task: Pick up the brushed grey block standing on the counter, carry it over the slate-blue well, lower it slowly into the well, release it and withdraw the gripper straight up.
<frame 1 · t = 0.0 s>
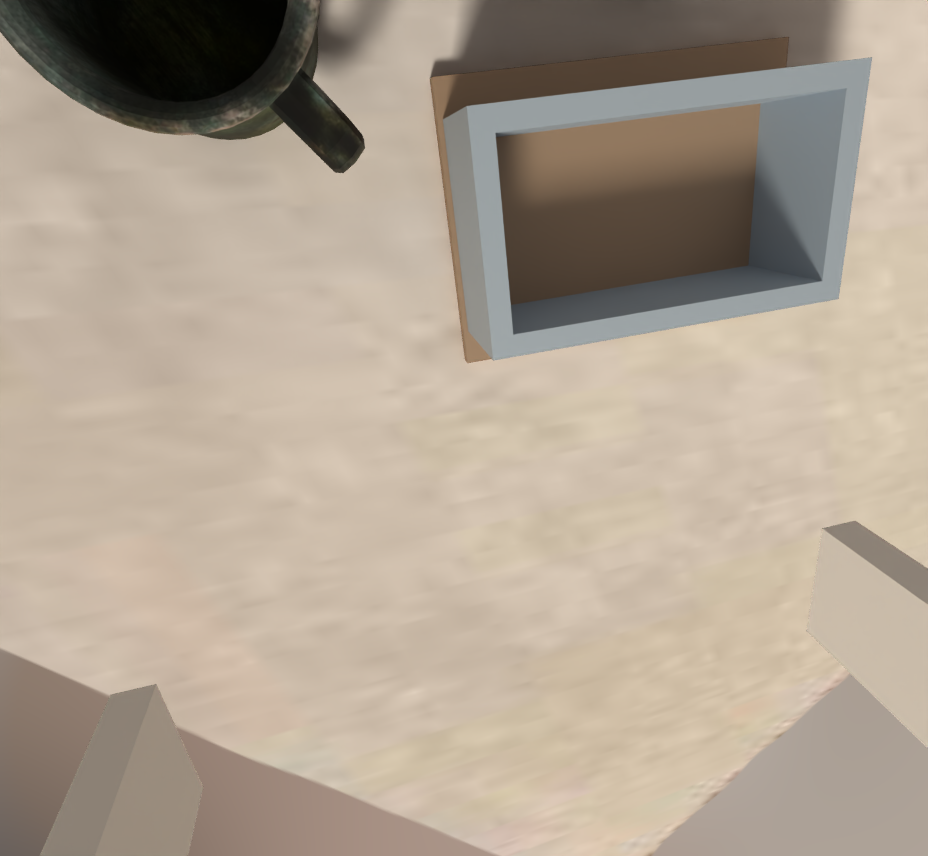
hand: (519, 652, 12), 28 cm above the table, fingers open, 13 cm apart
mug: (241, 55, 30), on the table
well: (614, 208, 37), on the table
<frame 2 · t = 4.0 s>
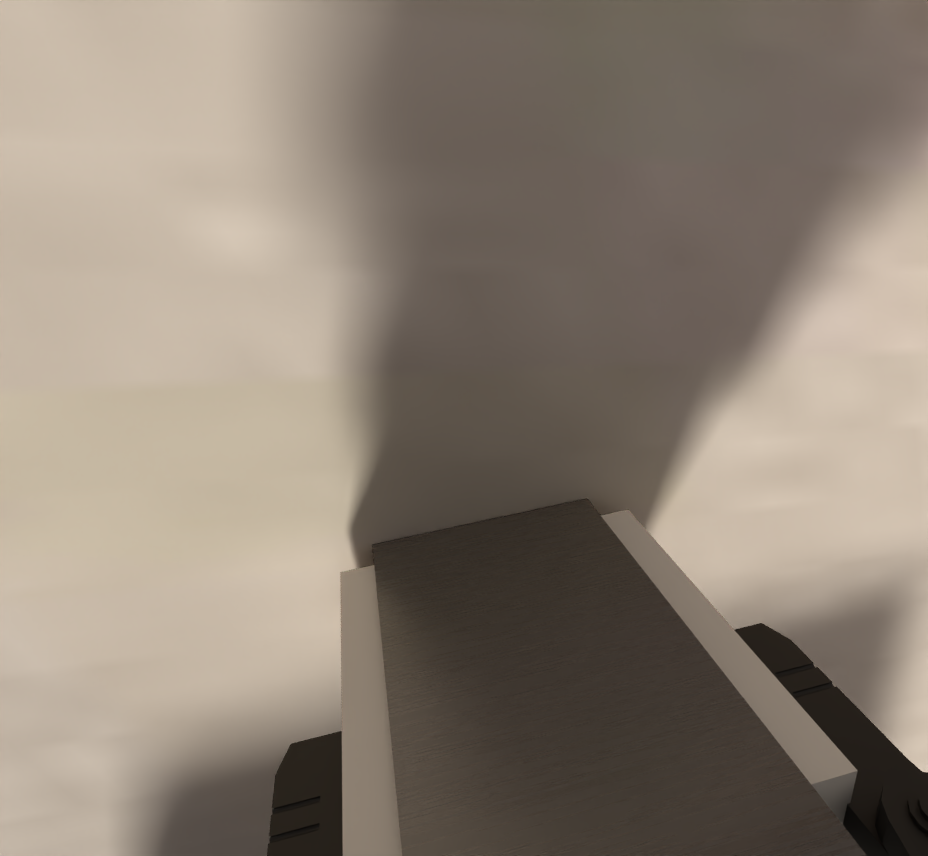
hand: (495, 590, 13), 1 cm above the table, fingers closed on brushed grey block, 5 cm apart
brushed grey block: (489, 574, 14), on the table, touching gripper
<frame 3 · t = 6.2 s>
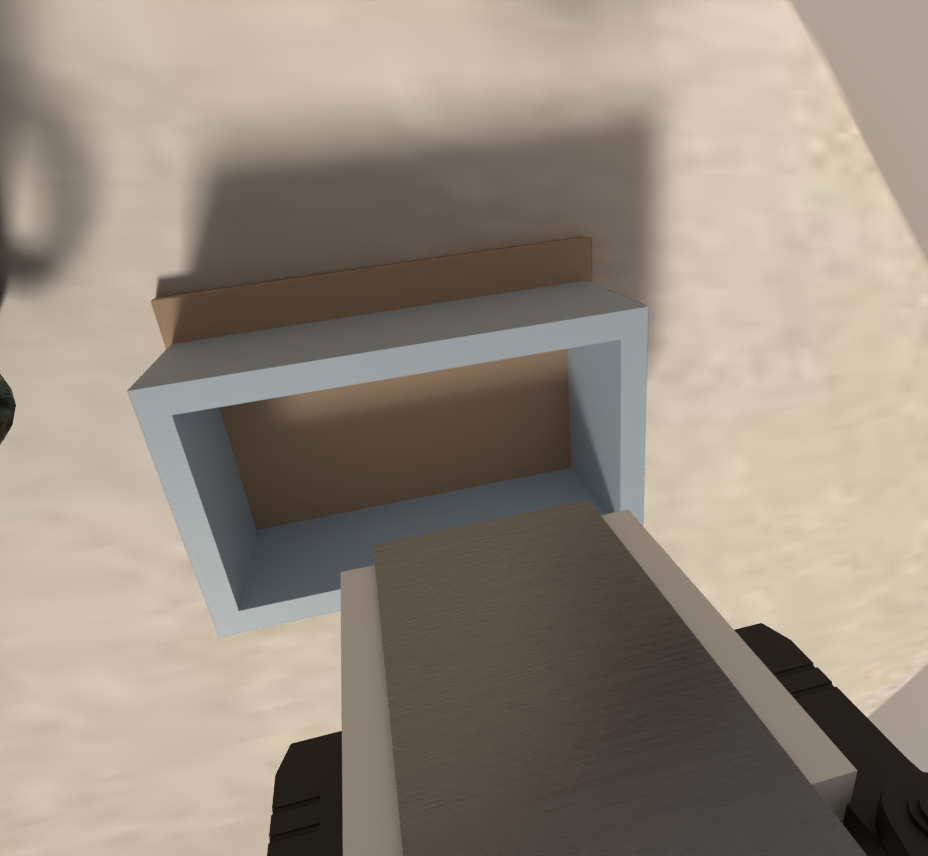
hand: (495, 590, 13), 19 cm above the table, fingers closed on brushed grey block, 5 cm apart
brushed grey block: (489, 575, 14), point 19 cm above the table, touching gripper
well: (405, 415, 32), on the table
when the fingers open (3 cm above the table, at t = 8.6 s): brushed grey block drops 2 cm, resting on well.
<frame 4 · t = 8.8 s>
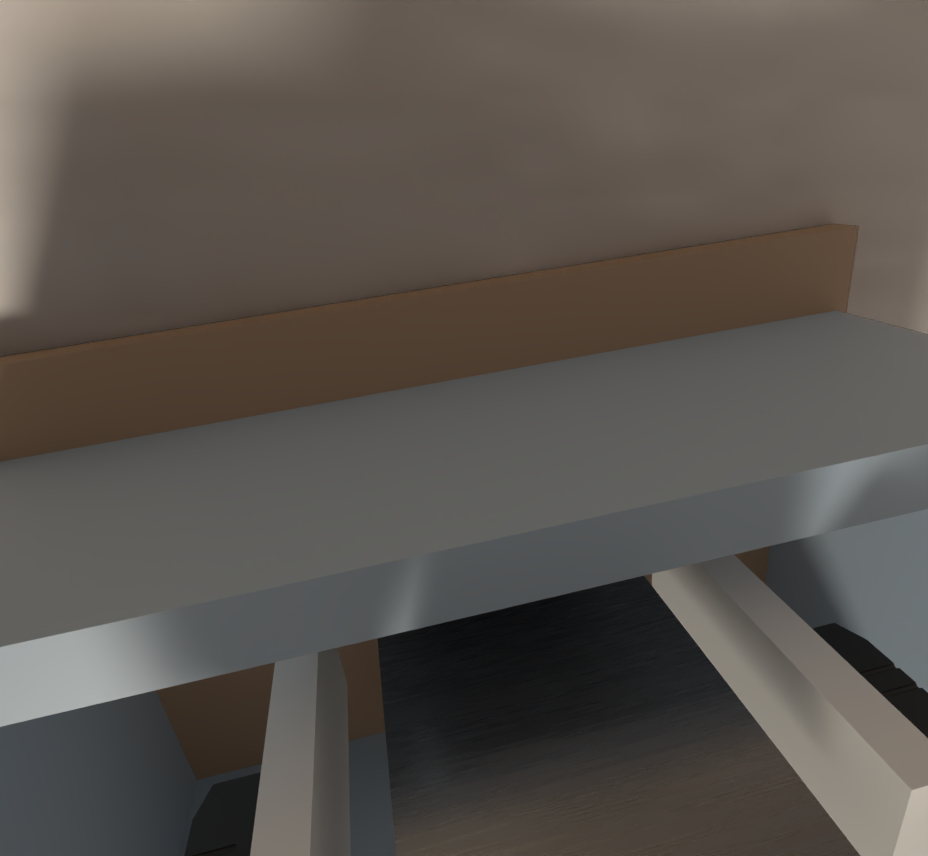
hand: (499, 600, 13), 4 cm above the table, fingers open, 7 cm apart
brushed grey block: (469, 530, 16), point 1 cm above the table, touching well
well: (473, 564, 17), on the table
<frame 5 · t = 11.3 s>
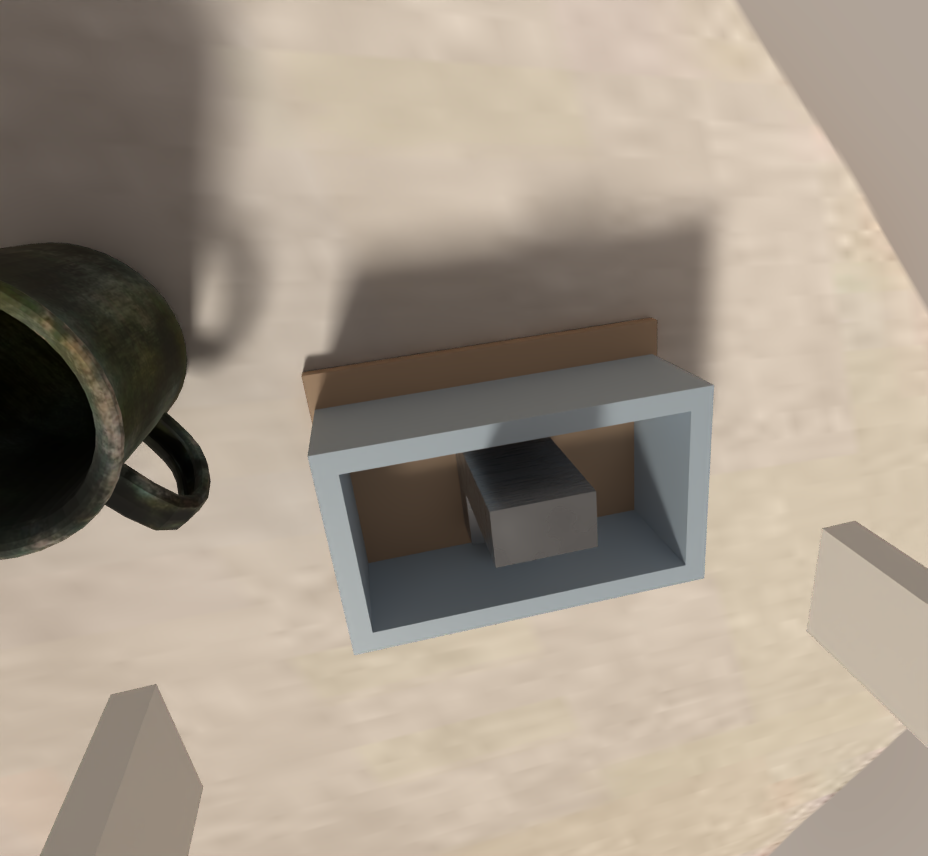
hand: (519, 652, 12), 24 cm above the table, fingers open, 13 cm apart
mug: (115, 363, 32), on the table
brushed grey block: (495, 446, 36), point 1 cm above the table, touching well
well: (495, 465, 38), on the table
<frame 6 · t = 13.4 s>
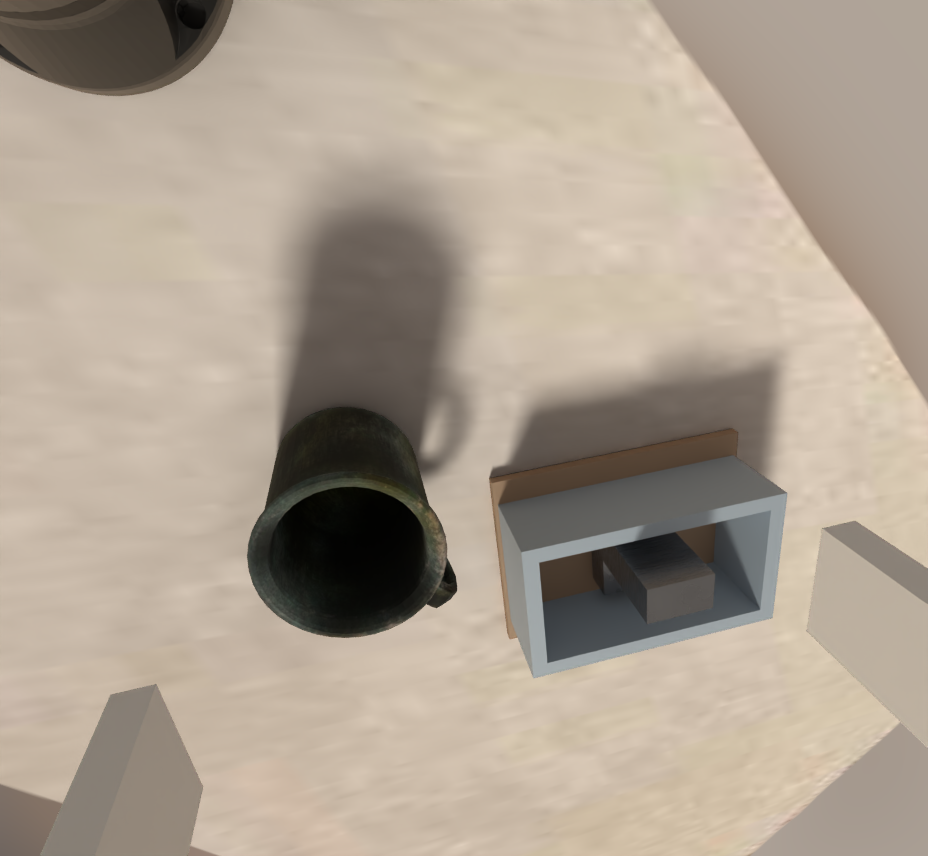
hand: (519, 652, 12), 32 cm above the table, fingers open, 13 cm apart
mug: (364, 478, 45), on the table
brushed grey block: (618, 523, 50), point 1 cm above the table, touching well
well: (615, 534, 51), on the table
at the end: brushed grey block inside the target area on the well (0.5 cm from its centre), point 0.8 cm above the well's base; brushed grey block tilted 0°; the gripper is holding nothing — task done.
